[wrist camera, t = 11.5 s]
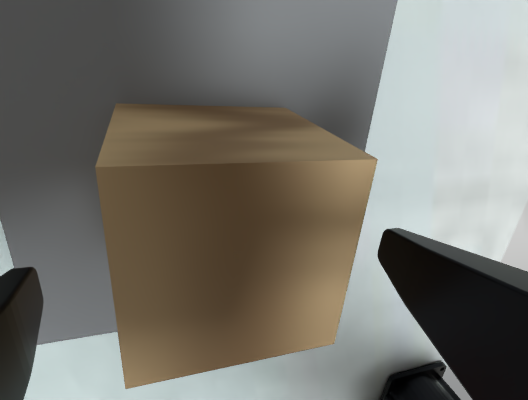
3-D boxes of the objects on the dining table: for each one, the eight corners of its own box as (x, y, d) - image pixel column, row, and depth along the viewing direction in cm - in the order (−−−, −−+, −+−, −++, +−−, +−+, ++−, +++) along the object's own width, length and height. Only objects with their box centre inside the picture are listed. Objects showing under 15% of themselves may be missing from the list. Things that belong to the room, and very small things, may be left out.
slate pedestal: (343, 5, 16) (397, -1, 13) (303, 254, 22) (333, 295, 19) (-17, -43, 12) (-82, -72, 8) (56, 283, 18) (35, 345, 14)
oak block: (285, 107, 13) (378, 159, 8) (271, 240, 16) (334, 343, 11) (116, 103, 11) (95, 166, 6) (131, 255, 14) (125, 388, 9)
